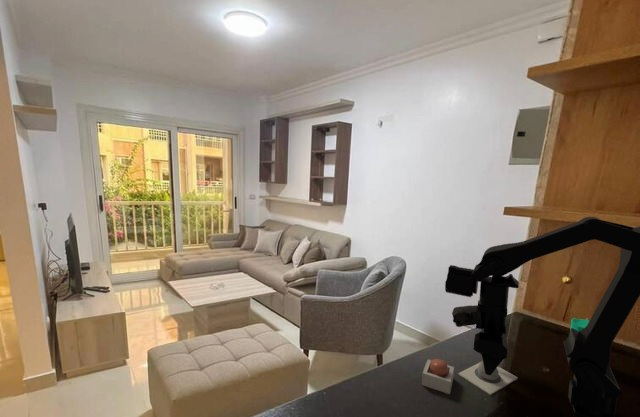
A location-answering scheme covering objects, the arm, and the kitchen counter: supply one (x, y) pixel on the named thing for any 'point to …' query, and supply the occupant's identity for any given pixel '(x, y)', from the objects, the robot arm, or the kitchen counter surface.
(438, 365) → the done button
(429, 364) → the button housing
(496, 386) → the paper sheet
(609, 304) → the robot arm
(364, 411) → the kitchen counter surface
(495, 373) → the rook chess piece
